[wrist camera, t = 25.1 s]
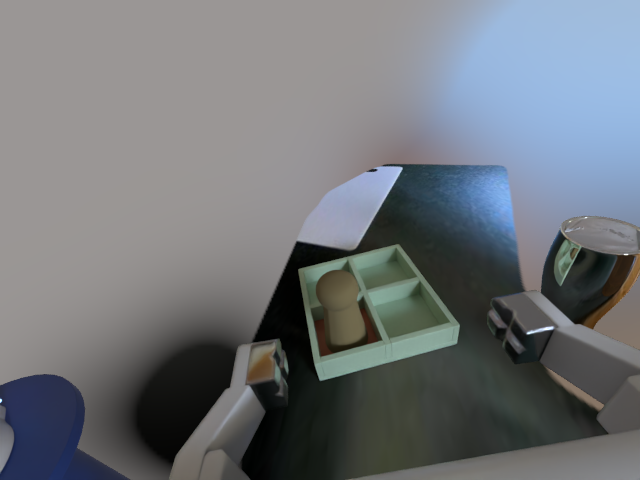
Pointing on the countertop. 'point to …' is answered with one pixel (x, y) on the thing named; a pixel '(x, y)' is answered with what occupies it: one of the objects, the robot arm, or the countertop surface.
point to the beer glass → (591, 267)
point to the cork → (341, 311)
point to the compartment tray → (380, 312)
